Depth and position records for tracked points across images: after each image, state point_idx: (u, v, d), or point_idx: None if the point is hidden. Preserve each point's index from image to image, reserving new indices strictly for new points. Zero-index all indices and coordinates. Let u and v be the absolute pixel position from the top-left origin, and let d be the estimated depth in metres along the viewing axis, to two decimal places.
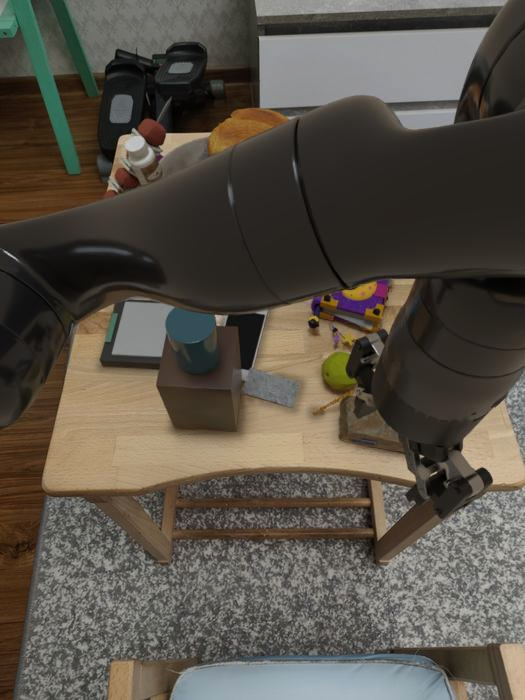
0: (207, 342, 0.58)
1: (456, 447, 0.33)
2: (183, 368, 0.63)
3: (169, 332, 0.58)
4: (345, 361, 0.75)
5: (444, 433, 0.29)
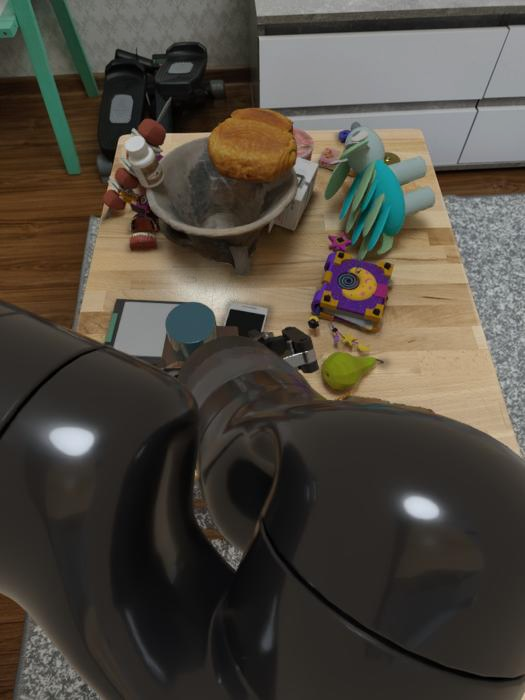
0: None
1: None
2: None
3: (169, 332, 0.58)
4: (345, 361, 0.75)
5: None
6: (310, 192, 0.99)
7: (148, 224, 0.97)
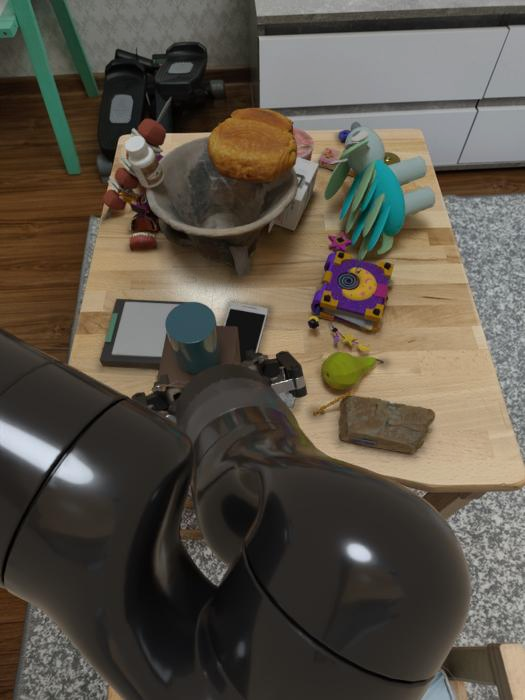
0: (207, 342, 0.58)
1: (177, 424, 0.37)
2: (183, 368, 0.63)
3: (169, 332, 0.58)
4: (345, 361, 0.75)
5: (178, 414, 0.33)
6: (310, 192, 0.99)
7: (148, 224, 0.97)
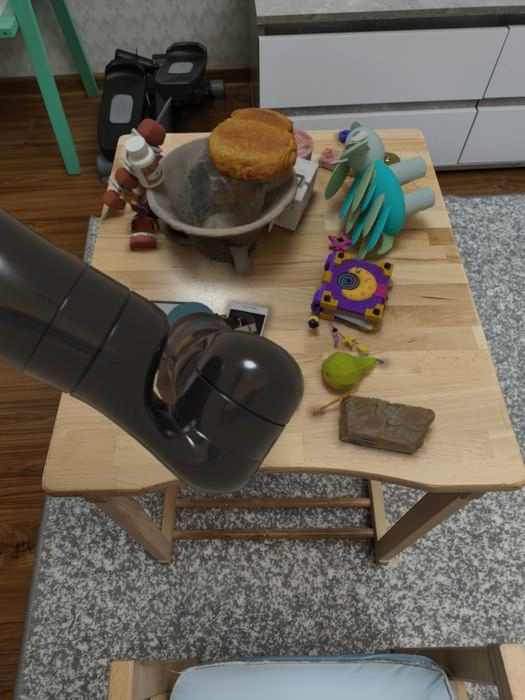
0: None
1: (164, 356, 0.52)
2: None
3: None
4: (345, 361, 0.75)
5: None
6: (310, 192, 0.99)
7: (148, 224, 0.97)
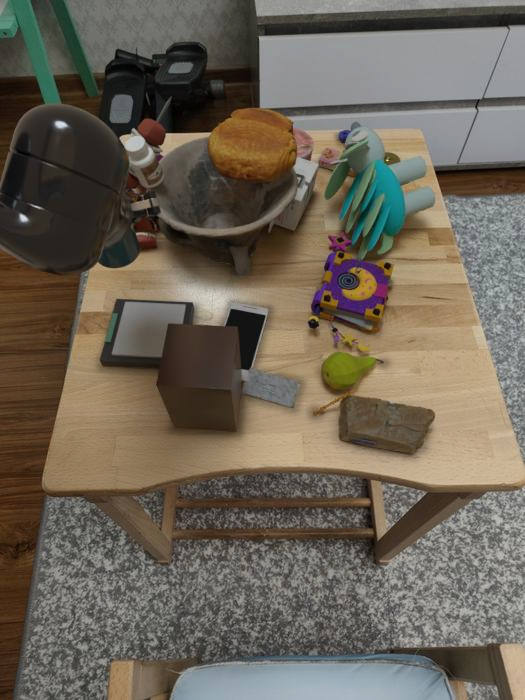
0: None
1: None
2: (100, 261, 0.64)
3: None
4: (345, 361, 0.75)
5: None
6: (310, 192, 0.99)
7: (148, 224, 0.97)
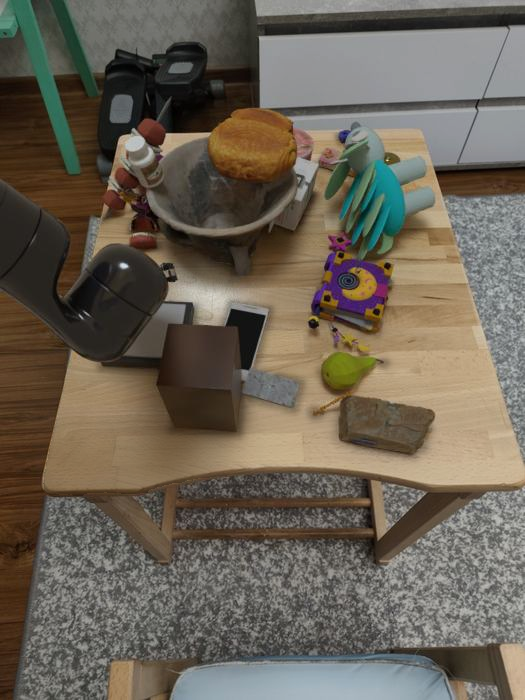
0: None
1: None
2: None
3: None
4: (345, 361, 0.75)
5: None
6: (310, 192, 0.99)
7: (148, 224, 0.97)
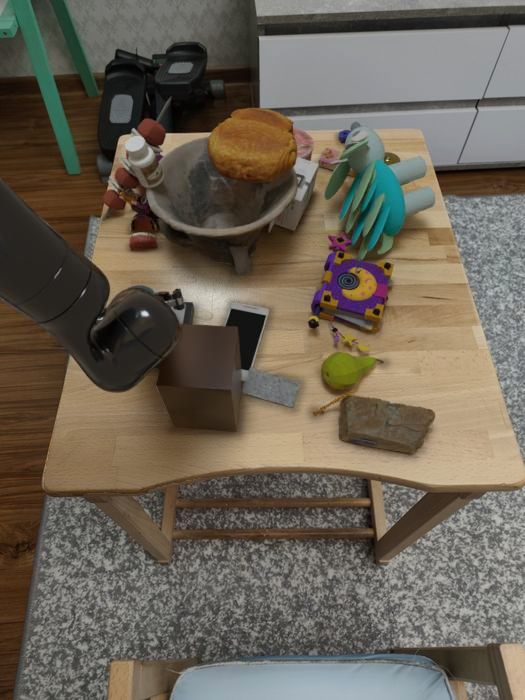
0: None
1: None
2: None
3: None
4: (345, 361, 0.75)
5: None
6: (310, 192, 0.99)
7: (148, 224, 0.97)
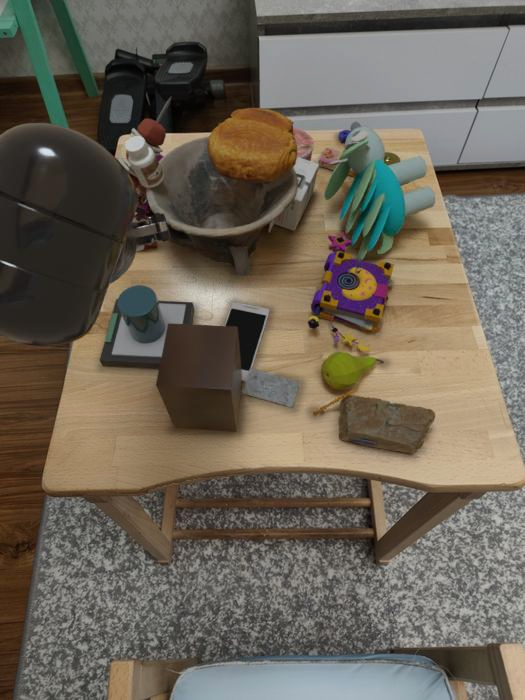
0: (149, 315, 0.76)
1: None
2: (134, 338, 0.81)
3: (120, 308, 0.75)
4: (345, 361, 0.75)
5: None
6: (310, 192, 0.99)
7: None
